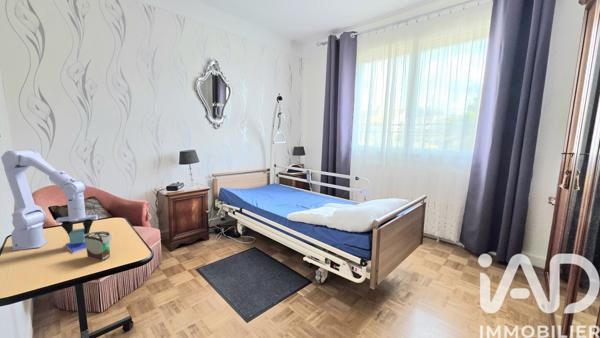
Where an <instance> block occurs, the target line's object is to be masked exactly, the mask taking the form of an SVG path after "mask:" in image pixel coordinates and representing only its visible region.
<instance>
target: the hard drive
mask: <svg viewBox="0 0 600 338" xmlns="http://www.w3.org/2000/svg"><path fill="white" fill-rule="evenodd" d="M65 246H66V248H67V249H68V250H69V251H70V252H71V253H72V254H76V253H79V252H83V251H87V250H86V244H85V242H83V243H74V244H70V242H66V243H65Z"/></svg>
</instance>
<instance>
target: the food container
mask: <svg viewBox="0 0 600 338" xmlns="http://www.w3.org/2000/svg"><path fill="white" fill-rule="evenodd" d="M84 239H85V244H86V250H85V251H86V255H87V258H88V259H89V258H90V259H93V260H96V261H101V262H105V261H106V260H108V259H109V258H110V255H111V252H110V251H111V240H112V239H113V237H112V234H111V233H110V232H109V231H103V230H102V231H93V232H89V233H88V234H84Z"/></svg>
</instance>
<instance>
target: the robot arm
mask: <svg viewBox="0 0 600 338" xmlns="http://www.w3.org/2000/svg"><path fill="white" fill-rule="evenodd" d="M0 159H1V162H2V165H3V167H4V172H5V176H6V179H7V181H8V184H9V188H10V190H11V193H12V196H13V199H14V202H15V205H16V210H15V211H13V212H12V214H11V217H12V222H11V223H12V226H13V227H14V229H13V230H11V234H10V237H11V246H12V249H11V251H19V250H21V251H22V250H28V249H29V250H30V249H37V248H41V247H42V246H44V245H45V244H47V243H48V242H50V239H45V235H44V227H43V225H45V222H46V221H47V214H46V212H45V211H44V210H43V208H42V206H39V205H36V204H35V201H34V197H33V195H32V191H31V188H30V186H29V182H28V178H27V176H26V174H25V172H26V170H28V168H30V167H34V168H35V169H37V170H38V171H40V172H42V173H44V174H45V175H46V176H48V179H49V181H50V182H51V183H53V184H54V185H57V186H58V187H59V188H60V189H61V191H62V193H63V194H64V197H65V199H66V203H67V213H68V216H63V217H57V218H56V219H55V220H56V221H55V222H56V224H60V223H61V225H60V226H61V228H63V229H64V231H65V232H66V233H67V235H68V236H69V233H70V232H71V231H73V230H74V222H82V221H83V222H82V225H83V228H84V229H85V234H88V233H90V230H91V226H92V225H93V222H94V221H97V220H98V219H99V216H98V214H86V205H85V197H84V192H86V191H87V185H86V183H85V182H84V181H83V180H81V179H79V180H78V179H75V178H74V177H72V176H71V175H69V174H67V172H66V171H65V170H57V169H55V168H54V167H53V166H52V165H51V164H49V162H47V161H46V160H45V159H43V158H42V154H41V153H39V152H38V151H36V150H34V149H25V150H24V149H22V150H7V151H5V152H4V153H3V154H2V156H1V157H0Z"/></svg>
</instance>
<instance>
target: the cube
mask: <svg viewBox="0 0 600 338" xmlns="http://www.w3.org/2000/svg"><path fill="white" fill-rule="evenodd" d="M84 234H85V229H84V227H83V228H73V231H71V232H70V233H69V235H68V238H69V243H70V244H74V243H83V242H85V239H84Z"/></svg>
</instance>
